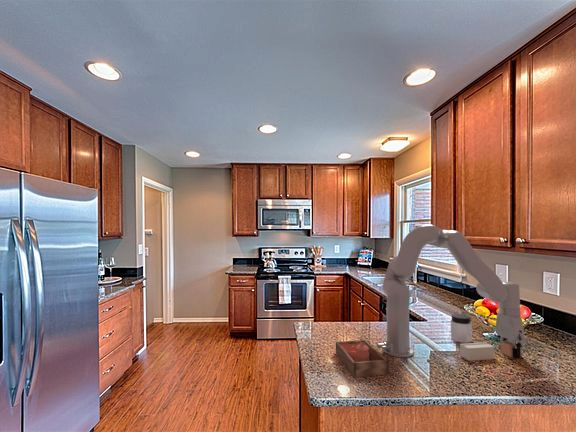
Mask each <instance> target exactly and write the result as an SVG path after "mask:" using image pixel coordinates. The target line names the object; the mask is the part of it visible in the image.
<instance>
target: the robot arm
mask: <svg viewBox="0 0 576 432" xmlns="http://www.w3.org/2000/svg"><path fill="white" fill-rule="evenodd" d="M427 245H429V246H432V247H438V248H442V249H447V250H448V251H449V252H450V254H451V255H452V257H453V258H454V259H455V261H456V263H457V264H458V265H459V267H460V268H461V269H463V271H464V272H466V273H468V274H469V275H470V276H471V277H473V278H474V279H475V280H476V281H477V282H478V283H477V284H476V287H475V288H476V292H477V294H478V295H480V297H483V298H485V299H488V300H490V301H493V302H495V303H498V311H497V314H496V320H495V321H496V322H495V334H496V335H497V337H498V339H499V342H500V343H501V341H512V342H513V346H514V347H513V357H512V358H515V359H516V358H522V351H521V352H520V348H521V349H522V348H523V347H524V346H525V345H527V344H528V341H527V340H526V339H525V332H524V323H523V319H522V316H521V299H520V297H521V296H520V295H521V294H520V293H521V292H520V286H519V284H518V283H517V282H512V281H502V279H500V277H499V276H498V274H496V273H495V271H494V270H493V269H492V268H491V267H490V266H488V265H487V264H486V262H485V261H483V259H482V258H480V256H479V255H478V253H477V252H476V251H475V249H474V248H473V247H472V245H471V244H470V243H469V241H468V239H466V236H464V234H463V233H462V232H460V231H457V230H447V229H440V228H438V227H437V226H436V225H434V224H430V223H429V224H428V223H427V224H420V225H418V226H416V227H415V228H414V229H412V230H411V231H409V233H407V235H405V237H404V239H403V241H402V242H401V245H400V248H399V250H398V253H397V256H394V257H392V259H391V260H390V261H389V263H388V266H387V269H386V272H385V275H384V279H383V282H382V283H383V284H382V290H383V292H384V294H385V295H386V307H385V308H386V313H385V314H386V339H384V342H382V343H381V342H377V343H376V348H377V349H382V350H383V352H384V353H385V354H387V355H389V356H391V357H397V358H410V357H413V356H414V353H415V352H414V349H413V348H411V346H410V345H411V344H410V342H411V341H410V340H411V339H410V337H411V336H410V300H411V292H410V288H409V286H408V285H407V284H406V280H407V279H410V278H411V277H413V275H414V274H415V272H416V271H415V270H416V267H417V263H418V260H419V258H420V254H421V252H422V250H423V248H424V247H425V246H427ZM516 343H517V344H516Z"/></svg>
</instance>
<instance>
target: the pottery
mask: <svg viewBox="0 0 576 432" xmlns="http://www.w3.org/2000/svg"><path fill="white" fill-rule="evenodd" d="M340 345H341V346H342V347H343V349H344V350H345V351H346V352H347V353H348V354H349V356H350V357H351V358H352V359H353V360H354V361H355V362H364V361H371V360H370V357H369V352H368V350H369V348H368V346H366V345H364V342H360V343H355V344H340Z"/></svg>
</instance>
